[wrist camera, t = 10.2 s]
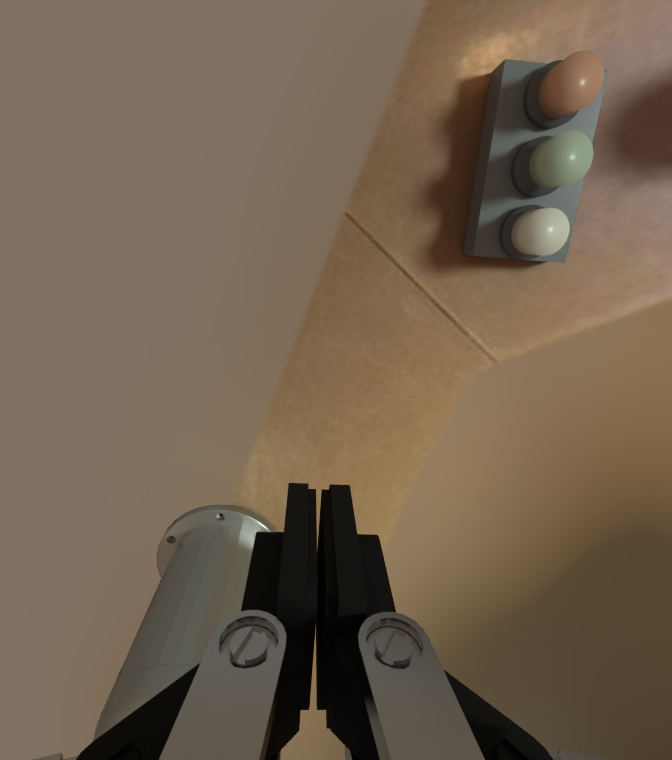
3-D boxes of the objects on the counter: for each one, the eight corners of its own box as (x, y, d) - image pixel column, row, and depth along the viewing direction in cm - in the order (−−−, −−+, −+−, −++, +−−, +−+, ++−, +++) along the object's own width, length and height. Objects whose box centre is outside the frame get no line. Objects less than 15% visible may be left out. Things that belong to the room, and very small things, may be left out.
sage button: (567, 190, 31) (586, 186, 29) (524, 186, 30) (540, 182, 28) (578, 140, 30) (598, 132, 28) (534, 136, 29) (551, 127, 27)
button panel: (548, 261, 37) (570, 263, 33) (462, 254, 36) (476, 256, 33) (587, 83, 33) (616, 66, 29) (490, 72, 32) (510, 54, 29)
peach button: (576, 120, 30) (596, 111, 28) (533, 116, 30) (549, 106, 28) (588, 67, 29) (609, 53, 27) (543, 62, 29) (561, 48, 27)
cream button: (547, 256, 33) (563, 257, 31) (507, 253, 33) (520, 253, 30) (557, 211, 32) (574, 209, 30) (515, 208, 32) (530, 205, 29)
